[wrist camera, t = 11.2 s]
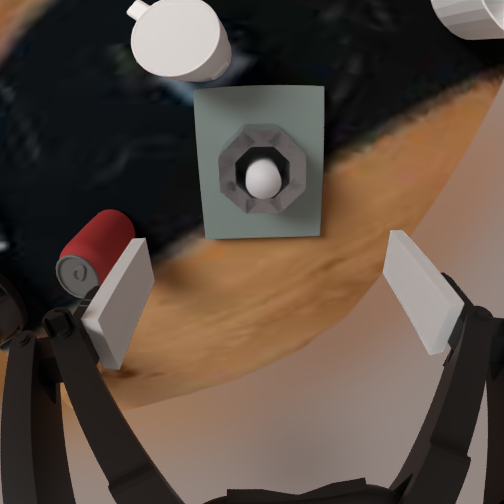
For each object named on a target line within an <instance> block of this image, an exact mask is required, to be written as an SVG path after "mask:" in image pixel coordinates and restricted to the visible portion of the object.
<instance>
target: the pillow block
mask: <svg viewBox="0 0 504 504" xmlns="http://www.w3.org/2000/svg"><path fill="white" fill-rule="evenodd" d="M193 96H194V112H195V126H196V140H197V152H198V164H199V176H200V186H201V197H202V207H203V217H204V226H205V236H206V239H231V238H262V237H297V236H320V223H321V205H322V184H323V155H324V86H302V85H256V86H232V87H217V88H204V89H194V90H193ZM244 124H276V125H277V126H278V127H279V128H280V129H282V130H283V131H284V132H285V133H286V134H287V135H288V136H289V137H290V138H291V139H292V140H293V141H294V142H295V143H296V144H297V145H298V146H299V147H300V149H301V150H302V151H303V152H304V153H305V155H306V187H305V191H303V192H302V193H301V194H300V195H299V196H298V197H297V198H296V199H295V200H294V201H293V202H292V203H291V204H290V205H289V206H287V207H286V208H285V209H284V210H283V211H282V212H281V213H259V214H246V213H245V212H243V211H242V210H241V209H240V208H239V207H238V206H236V205H235V204H234V203H233V202H232V201H231V200H229V199H228V198H227V197H226V196H225V195H224V194H222V193H221V192H220V182H219V166H218V156H219V154H220V152H221V150H222V148H223V146H224V145H225V144H226V143H227V142H228V141H229V140H230V139H231V138H232V137H233V136H234V135H235V134H236V133H237V132H238V131H239V130H240V128H241V127H242V126H243V125H244ZM283 168H284V156H283V155H282V154H281V153H280V152H279V151H278V150H277V149H276V148H275V147H250V148H249V149H248V150H247V151H246V152H245V153H244V154H243V155H242V156H241V157H240V158H239V159H238V169H239V170H240V171H241V172H242V173H243V174H244V175H245V176H246V187H247V190H248V191H249V193H250V194H251V195H253V196H254V197H256V198H259V199H268V198H271V197H273V196H274V195H276V194H277V193H278V191H279V189H280V187H281V177H280V174H279V172H280V171H281V170H282V169H283Z"/></svg>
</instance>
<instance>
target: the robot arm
mask: <svg viewBox="0 0 504 504" xmlns="http://www.w3.org/2000/svg"><path fill="white" fill-rule="evenodd" d="M383 275H384V276H385V278H386V280H387V281H388V283H389V284H390V286H391V288H392V290H393V291H394V293H395V295H396V296H397V298H398V300H399V301H400V303H401V305H402V306H403V308H404V310H405V312H406V313H407V315H408V317H409V319H410V321H411V322H412V324H413V326H414V328H415V329H416V331H417V333H418V335H419V337H420V338H421V340H422V342H423V344H424V346H425V348H426V350H427V352H428V354H429V355H433V354H438V353H443V351H444V349H445V347H446V345H447V343H449V345H450V347H451V350H450V352H449V354H448V356H447V358H446V360H445V362H444V364H443V366H444V370H443V373H442V376H441V379H440V382H439V385H438V388H437V390H436V393H435V396H434V398H433V401H432V403H431V406H430V409H429V411H428V413H427V416H426V418H425V421H424V423H423V425H422V427H421V430H420V432H419V434H418V436H417V439H416V441H415V443H414V445H413V447H412V449H411V452H410V453H409V456H408V458H407V459H406V461H405V463H404V465H403V467H402V469H401V471H400V473H399V474H398V476H397V477H396V479H395V480H394V482H393V483H392V484H391V486H390V487H389V489H387V488H385V487H381V486H377V485H369V484H366V480H365V478H360V479H355V480H349V481H343V482H336V483H332V484H329V485H326V486H324V487H321V488H318V489H315V490H312V491H309V492H307V493H303V494H300V495H294V494H287V493H281V492H275V491H269V490H263V489H227V496H223V497H219V498H216V499H213V500H210V501H208V502H205V503H204V504H455V503H456V500H457V498H458V496H459V493H460V491H461V488H462V486H463V483H464V480H465V477H466V475H467V472H468V469H469V466H470V462H471V458H470V457H468V456H467V453H468V449H469V446H470V443H471V439H472V436H473V432H474V429H475V425H476V422H477V418H478V413H479V410H480V405H481V400H482V396H483V391H484V387H485V381H486V387H487V402H488V403H487V405H488V452H487V468H486V480H485V490H484V501H483V504H504V319H503V318H494V317H493V315H492V314H491V313H490V311H488V310H487V309H486V308H483V307H481V306H474V305H473V304H472V303H471V301H470V300H469V299H468V298H467V296H466V295H465V294H464V293H463V291H461V289H460V288H459V286H457V284H456V283H455V282H454V280H453V279H452V278H451V277H449V276H448V275H446V274H445V273H440V272H439V271H438V270H437V269H436V267H435V266H434V265H433V264H432V263H431V262H430V260H429V259H428V258H427V257H426V256H425V255H424V254H423V252H422V251H421V250H420V249H419V248H418V247H417V246H416V245H415V244H414V242H413V241H412V240H411V239H410V238H409V237H408V236H407V235H406V233H405V232H404V231H403V230H390V236H389V242H388V248H387V253H386V258H385V264H384V269H383ZM154 282H155V280H154V275H153V271H152V266H151V262H150V257H149V252H148V247H147V242H146V238H136V239H132V240H131V242H130V243H129V245H128V246H127V247H126V249H125V250H124V252H123V253H122V255H121V256H120V258H119V259H118V261H117V262H116V264H115V265H114V267H113V268H112V270H111V271H110V273H109V274H108V276H107V278H106V279H105V281H104V282H103V284H102V285H101V286H94V287H93V288H92V289H91V290H90V291H88V292H87V294H86V295H85V297H84V298H83V300H82V302H81V303H80V306H78V308H77V309H76V311H75V313H74V314H73V316H72V314H71V312H70V310H69V309H68V308H66V307H57V308H54V309H52V310H50V311H49V312H47V313H46V314H45V315H44V317H43V319H42V325H43V327H44V329H45V331H46V332H47V334H48V336H49V337H45V338H39V339H37V337H36V335H35V334H34V333H33V332H32V331H29V330H27V331H23V332H21V331H22V329H23V328H24V326H25V325H26V323H27V320H28V313H27V309H26V306H25V303H24V301H23V299H22V297H21V295H20V294H19V292H18V290H17V289H16V288H15V286H14V285H13V284H12V283H11V282H10V281H9V280H8V279H7V278H6V277H5V276H4V275H3V274H2V273H0V346H1V345H2V344H3V343H5V342H6V341H8V340H9V339H11V338H12V337H14V336H15V335H16V336H15V337H14V338H13V339H12V341H11V344H10V350H9V356H8V362H7V369H6V376H5V385H4V393H3V403H2V417H1V481H2V494H3V503H4V504H76V502H75V498H74V493H73V488H72V483H71V478H70V473H69V467H68V461H67V454H66V447H65V439H64V431H63V420H62V409H61V392H60V383H61V382H64V385H65V388H66V390H67V393H68V396H69V398H70V401H71V403H72V406H73V408H74V411H75V413H76V416H77V418H78V420H79V423H80V425H81V427H82V429H83V432H84V434H85V436H86V438H87V441H88V443H89V445H90V447H91V449H92V451H93V453H94V455H95V457H96V459H97V461H98V463H99V465H100V467H101V469H102V470H103V472H104V474H105V476H106V478H107V480H108V482H109V486H108V488H109V491H110V493H111V494H112V496H113V498H114V500H115V501H116V503H117V504H185V503H184V502H183V501H182V500H181V498H180V497H179V496H178V495H177V494H176V492H175V491H174V490H173V488H172V487H171V486H170V485H169V483H168V482H167V481H166V479H165V478H164V477H163V475H162V474H161V473H160V471H159V470H158V468H157V467H156V466H155V464H154V463H153V461H152V460H151V459H150V457H149V455H148V454H147V453H146V451H145V450H144V448H143V447H142V445H141V443H140V442H139V440H138V439H137V437H136V436H135V434H134V433H133V431H132V429H131V428H130V426H129V425H128V423H127V421H126V419H125V418H124V416H123V414H122V413H121V411H120V409H119V408H118V406H117V404H116V402H115V400H114V399H113V397H112V395H111V393H110V391H109V389H108V388H107V386H106V384H105V382H104V380H103V378H102V376H101V374H100V372H99V370H98V368H97V366H96V365H97V363H98V361H99V359H100V361H101V363H102V365H103V367H104V368H108V369H118V370H120V367H121V364H122V362H123V359H124V356H125V354H126V351H127V349H128V346H129V343H130V341H131V338H132V336H133V333H134V331H135V328H136V326H137V323H138V321H139V318H140V316H141V313H142V311H143V308H144V306H145V304H146V301H147V299H148V296H149V294H150V292H151V289H152V287H153V285H154Z"/></svg>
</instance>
